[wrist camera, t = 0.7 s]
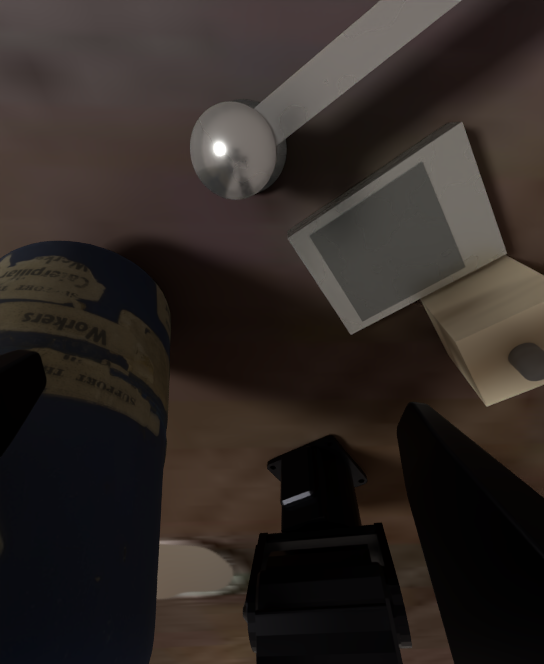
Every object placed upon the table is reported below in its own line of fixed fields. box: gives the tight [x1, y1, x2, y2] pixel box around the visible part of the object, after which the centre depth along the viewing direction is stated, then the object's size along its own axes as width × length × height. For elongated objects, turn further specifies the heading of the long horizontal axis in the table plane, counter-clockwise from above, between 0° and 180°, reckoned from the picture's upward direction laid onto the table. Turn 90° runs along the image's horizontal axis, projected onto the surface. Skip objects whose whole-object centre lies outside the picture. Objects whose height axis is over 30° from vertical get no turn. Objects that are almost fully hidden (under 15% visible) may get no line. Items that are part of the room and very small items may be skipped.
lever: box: [190, 0, 461, 200], centre depth 11 cm, size 3×14×2 cm, turn 125°
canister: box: [0, 241, 171, 664], centre depth 13 cm, size 10×10×18 cm
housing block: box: [420, 255, 544, 407], centre depth 18 cm, size 5×5×6 cm
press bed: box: [288, 122, 507, 335], centre depth 18 cm, size 7×9×2 cm
